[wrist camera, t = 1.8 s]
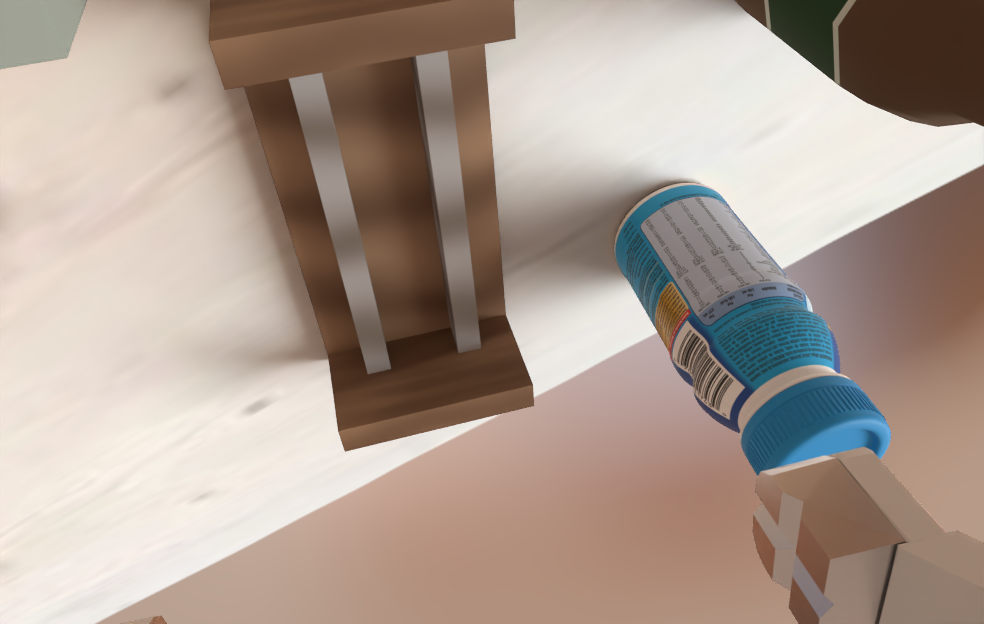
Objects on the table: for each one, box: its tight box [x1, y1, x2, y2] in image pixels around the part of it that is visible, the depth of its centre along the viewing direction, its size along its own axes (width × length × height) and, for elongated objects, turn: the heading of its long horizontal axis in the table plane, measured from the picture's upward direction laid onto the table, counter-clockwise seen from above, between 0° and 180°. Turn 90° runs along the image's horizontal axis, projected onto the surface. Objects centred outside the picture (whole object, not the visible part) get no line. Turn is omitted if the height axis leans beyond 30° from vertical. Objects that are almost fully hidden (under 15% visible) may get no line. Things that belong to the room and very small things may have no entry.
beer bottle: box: [735, 0, 984, 127], centre depth 33 cm, size 8×8×24 cm
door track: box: [209, 0, 534, 451], centre depth 42 cm, size 26×12×8 cm, turn 4°
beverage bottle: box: [614, 183, 891, 476], centre depth 46 cm, size 8×8×20 cm
